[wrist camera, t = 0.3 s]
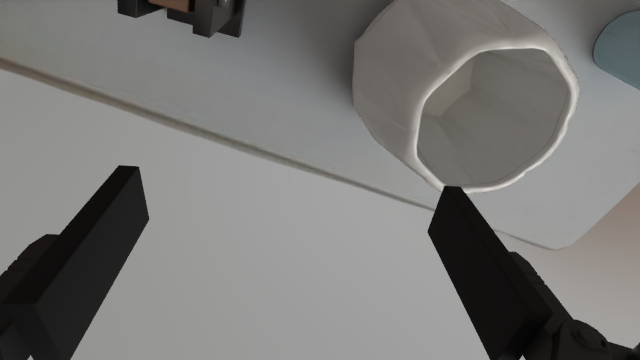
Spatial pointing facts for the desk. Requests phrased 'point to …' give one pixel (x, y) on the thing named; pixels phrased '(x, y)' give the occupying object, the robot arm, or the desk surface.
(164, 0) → the lever
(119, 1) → the bracket
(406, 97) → the vase
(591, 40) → the desk surface
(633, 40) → the cup
